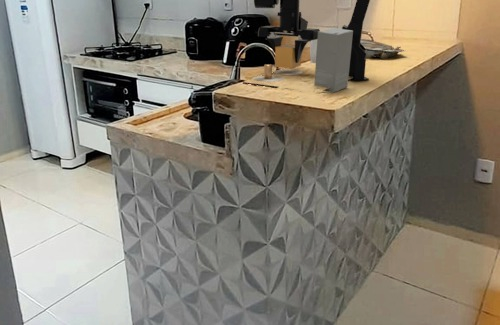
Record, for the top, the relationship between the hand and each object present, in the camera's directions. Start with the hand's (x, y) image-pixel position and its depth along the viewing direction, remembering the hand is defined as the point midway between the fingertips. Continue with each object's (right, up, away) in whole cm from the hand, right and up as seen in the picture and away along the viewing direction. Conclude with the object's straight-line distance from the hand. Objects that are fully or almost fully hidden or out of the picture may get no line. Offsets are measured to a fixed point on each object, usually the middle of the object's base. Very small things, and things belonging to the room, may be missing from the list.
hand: (288, 61), depth 150 cm
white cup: (+13, +4, +22) cm, 26 cm away
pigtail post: (-7, -7, -8) cm, 12 cm away
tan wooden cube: (0, -1, 0) cm, 1 cm away
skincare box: (+11, -11, -16) cm, 22 cm away
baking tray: (+35, +11, +44) cm, 57 cm away
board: (-3, -6, -3) cm, 7 cm away
